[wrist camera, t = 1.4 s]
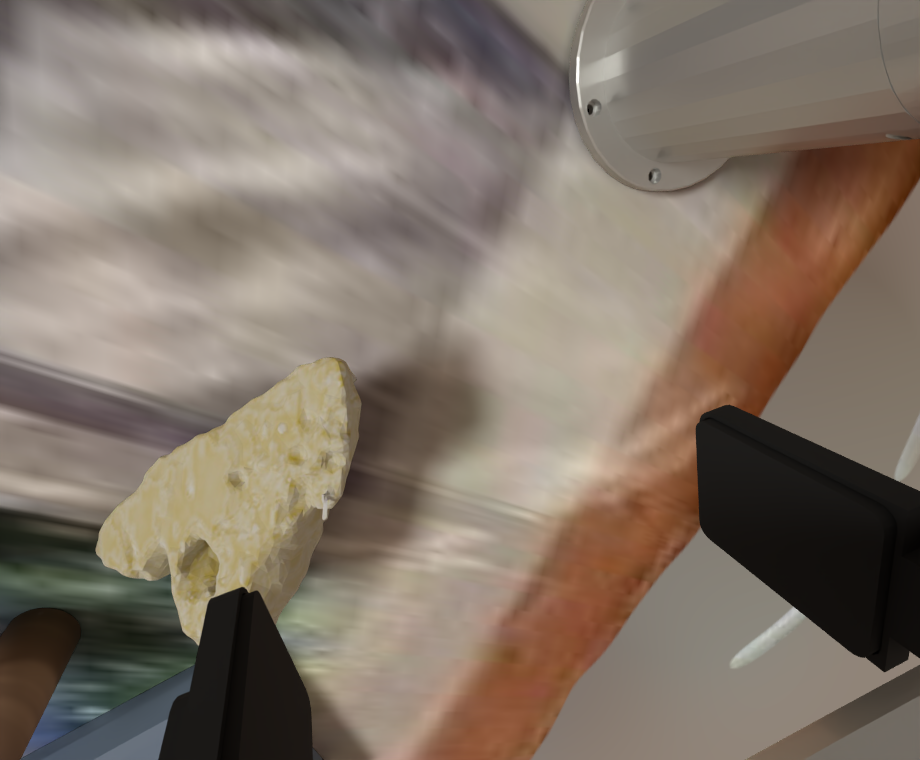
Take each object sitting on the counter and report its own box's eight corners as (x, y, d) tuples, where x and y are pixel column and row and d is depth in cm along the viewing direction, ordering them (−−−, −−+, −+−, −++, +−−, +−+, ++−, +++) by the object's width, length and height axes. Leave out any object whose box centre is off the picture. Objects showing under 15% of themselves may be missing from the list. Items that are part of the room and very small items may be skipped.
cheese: (200, 588, 34) (401, 647, 28) (81, 636, 27) (315, 726, 21) (216, 356, 34) (420, 366, 28) (103, 345, 27) (341, 356, 21)
